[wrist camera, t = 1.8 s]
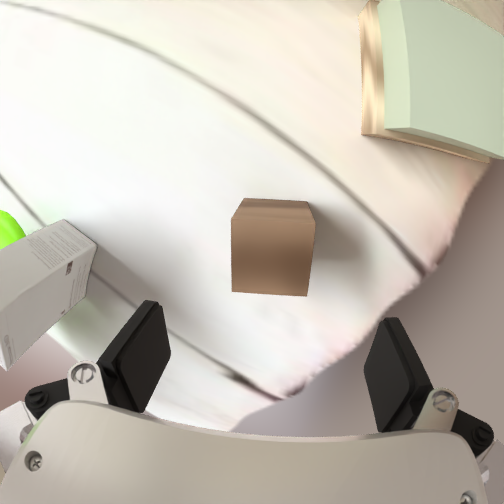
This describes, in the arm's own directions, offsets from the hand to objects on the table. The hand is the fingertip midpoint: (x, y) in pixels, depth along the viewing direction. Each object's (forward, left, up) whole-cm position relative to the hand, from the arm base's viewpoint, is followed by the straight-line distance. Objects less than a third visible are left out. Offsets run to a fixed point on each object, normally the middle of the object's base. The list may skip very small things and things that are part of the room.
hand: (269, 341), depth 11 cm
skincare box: (+3, -22, -13) cm, 26 cm away
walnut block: (-1, 0, -13) cm, 13 cm away
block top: (-14, +12, -9) cm, 21 cm away
